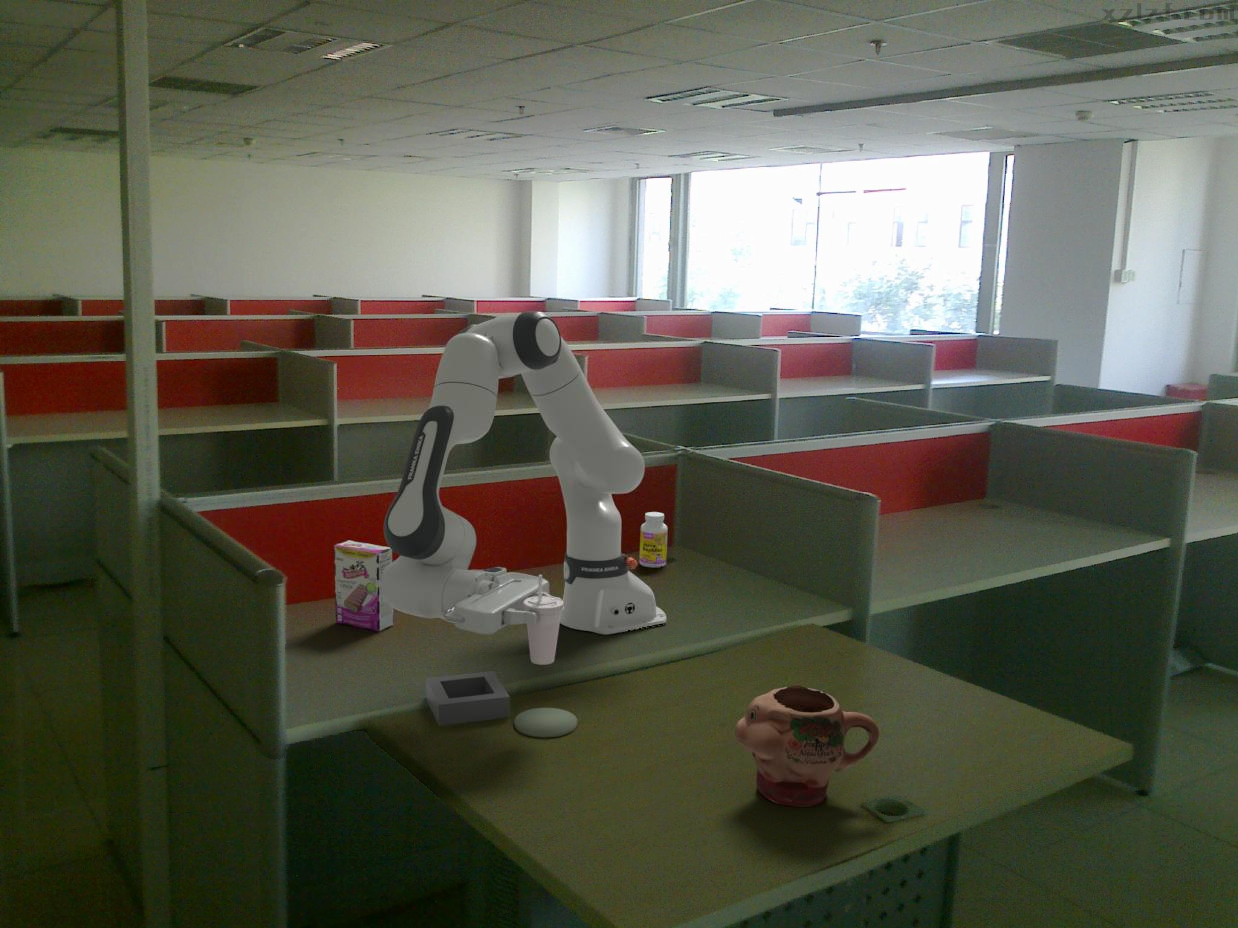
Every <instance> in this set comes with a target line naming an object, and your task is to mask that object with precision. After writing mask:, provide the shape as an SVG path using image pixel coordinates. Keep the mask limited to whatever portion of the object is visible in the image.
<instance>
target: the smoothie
mask: <svg viewBox="0 0 1238 928" xmlns="http://www.w3.org/2000/svg"><path fill="white" fill-rule="evenodd" d="M538 577H539V586H538V596H535V597H530V598H527V599H525V600H524V602H523V603H524V605H523V609H524V610H525V611H528V610H533V611H538V612H539V621H538V622H537V623H535V624H534V625H531V624H526V629H527V636H528V637H527V638H528V648H529V656H530V662H531V663H532V664H536V665H543V666H544V665H545V666H546V665H550V664H553V663H554V662H555V659H556V657H555V656H556V650H557V643H558V638H559V630H560V624H561V623H560V618H561V611H562V610H563V609H564V606H563V604H564V602H563V599H562V598H561V599H559V598H560V597H559V598H556V597H557V596H553V595H551V596H542V578H543V574H538ZM552 596H553V597H552Z"/></svg>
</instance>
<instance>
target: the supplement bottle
mask: <svg viewBox="0 0 1238 928" xmlns="http://www.w3.org/2000/svg"><path fill="white" fill-rule="evenodd" d="M644 520H645V522H644V523H642V524H641V526H640V535H639V537H640V538H639V540H640V541H639V559H638V560H639V564H640V565H641V566H642V567H646V568H654V569H655V568H656V569H657V568H662V567H665V566H666V564H667V552H668V551H667V550H668V525H666V524H665V523H664V520H665V514H664V513H663V512H658V511H651V512H650V511H649V512H645V514H644ZM661 566H662V567H661Z"/></svg>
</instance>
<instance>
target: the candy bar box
mask: <svg viewBox="0 0 1238 928" xmlns="http://www.w3.org/2000/svg"><path fill="white" fill-rule="evenodd" d="M333 549H334V551H333V552H334V553H333V556H334V557H333V558H334V560H333V561H334V592H335V593H334V594H335V595H334V596H335V597H334V598H335V599H334V601H335V602H334V603H335V605H334V606H335V623H338V624H342V625H346V626H351V627H355V628H360V629H365V630H371V631H375V632H382V631H384V630H386V629H388V628H390V627H393V626H394V608H393V607H391V606H390V605H389V604H388V603H387V602H386V600H385V598H384V596H383V593H382V587H381V580H382V575H383V572H384V569H385V568H386V566H387V565H389V564H390V563H392V562H394V558H393V556H394V555H393V554H394V551H393V550H391V548H390V547H389V546H384V545H379V544H373V543H372V544H371V543H367V542H360V541H355V540H349V539H348V540H346V541H342V542H340V543H336V544H334V545H333Z"/></svg>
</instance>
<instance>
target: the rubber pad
mask: <svg viewBox="0 0 1238 928" xmlns="http://www.w3.org/2000/svg"><path fill="white" fill-rule="evenodd" d="M513 722H514V724H513V725H514V728H515V729H516V730H517V731H518V732H519V733H521V734H523V735H525V736H528V737H529V736H530V737H533V738H542V739H543V738H556V737H562V736H565V735H568V734H570V733H571V732H573V731H575V730H576V728H577V727H578V718H577V716H576V715H574V713H571V712H570V711H568V710H566V709H561V708H556V707H555V708H554V707H538V708H532V709H526V710H525V711H522V712H520V713H519V714H517V715H516V717H515V718H514V721H513Z"/></svg>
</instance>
